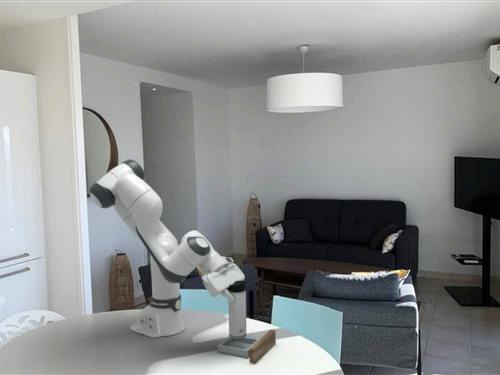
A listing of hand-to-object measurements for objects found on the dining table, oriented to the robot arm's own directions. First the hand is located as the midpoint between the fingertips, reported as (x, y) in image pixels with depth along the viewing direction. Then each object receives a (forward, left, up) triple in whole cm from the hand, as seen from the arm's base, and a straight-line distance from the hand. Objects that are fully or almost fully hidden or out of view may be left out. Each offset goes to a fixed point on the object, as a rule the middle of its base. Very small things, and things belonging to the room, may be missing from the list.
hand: (238, 297), depth 159 cm
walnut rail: (+8, +2, -20) cm, 21 cm away
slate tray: (-1, +1, -20) cm, 20 cm away
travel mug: (-1, 0, -14) cm, 14 cm away
